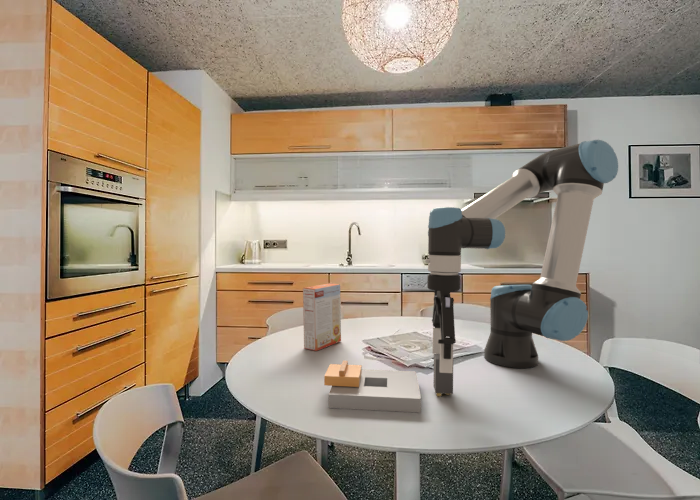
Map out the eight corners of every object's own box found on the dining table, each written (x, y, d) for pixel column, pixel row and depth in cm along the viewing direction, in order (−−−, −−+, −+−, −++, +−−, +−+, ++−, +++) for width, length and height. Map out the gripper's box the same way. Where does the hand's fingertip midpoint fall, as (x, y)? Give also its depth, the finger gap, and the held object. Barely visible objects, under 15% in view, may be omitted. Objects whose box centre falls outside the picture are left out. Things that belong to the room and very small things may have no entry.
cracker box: (328, 339, 134) (328, 282, 134) (341, 341, 131) (341, 283, 130) (302, 348, 123) (302, 286, 122) (315, 351, 119) (315, 288, 119)
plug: (450, 390, 89) (450, 354, 89) (452, 398, 85) (453, 359, 85) (433, 390, 89) (433, 353, 89) (435, 397, 85) (435, 359, 85)
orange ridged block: (361, 373, 91) (361, 360, 91) (358, 386, 83) (358, 372, 83) (330, 372, 92) (330, 359, 92) (324, 385, 84) (324, 370, 84)
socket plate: (415, 382, 94) (415, 371, 94) (421, 412, 78) (421, 398, 78) (339, 379, 96) (338, 368, 96) (328, 407, 80) (328, 394, 80)
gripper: (423, 268, 99) (421, 346, 99) (433, 278, 74) (431, 381, 75) (451, 269, 98) (449, 347, 99) (471, 279, 73) (469, 383, 74)
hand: (441, 362), depth 87 cm, fingers open, 13 cm apart
